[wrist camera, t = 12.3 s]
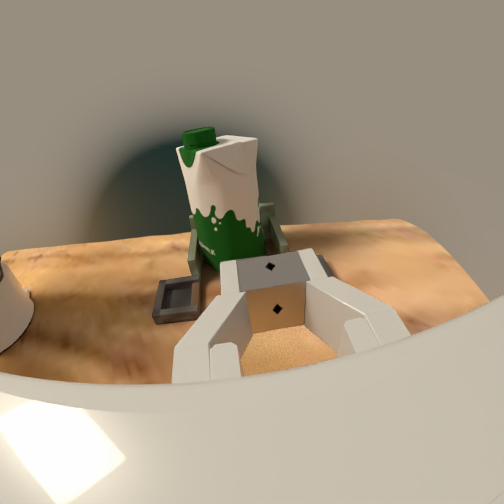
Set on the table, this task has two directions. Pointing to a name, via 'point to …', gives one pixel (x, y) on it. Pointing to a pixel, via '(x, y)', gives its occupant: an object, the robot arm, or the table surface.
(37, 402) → the robot arm
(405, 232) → the table surface
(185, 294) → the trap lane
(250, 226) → the soya milk
